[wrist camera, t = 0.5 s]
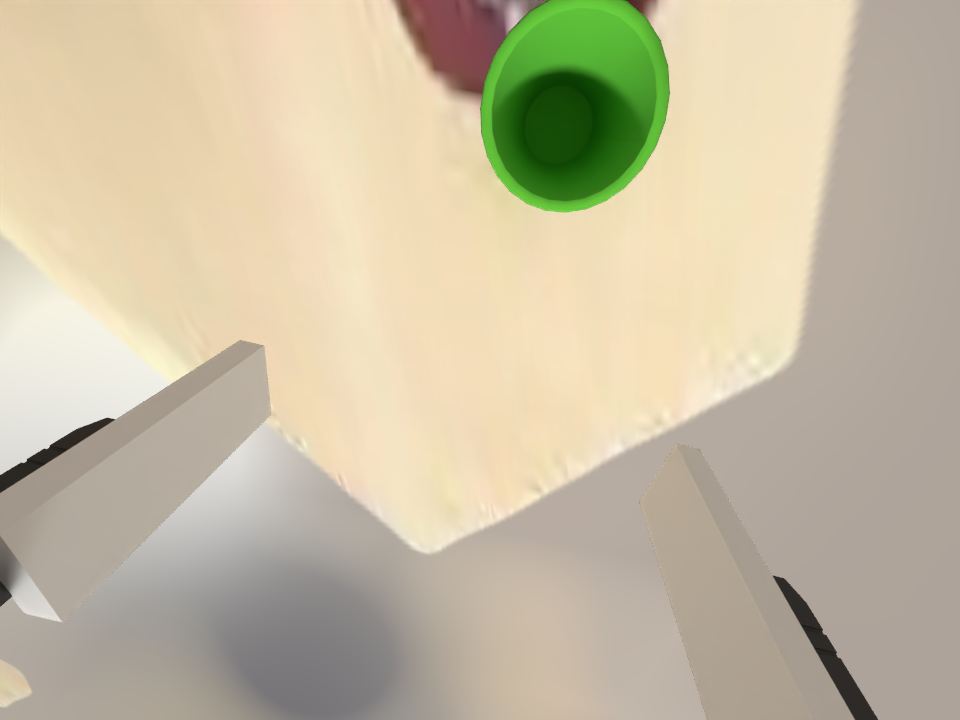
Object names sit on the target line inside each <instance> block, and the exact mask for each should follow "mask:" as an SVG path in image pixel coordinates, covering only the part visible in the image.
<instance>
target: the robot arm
mask: <svg viewBox="0 0 960 720" xmlns="http://www.w3.org/2000/svg"><path fill="white" fill-rule="evenodd" d="M270 415H271V407H270V397H269V387H268V378H267V368H266V359H265V349H264V346H263V345H259V344H255V343H251V342H246V341H242V340H240V341H238V342H237V343H235V344H233V345H232V346H230V347H229V348H227V349H226V350H224V351H222V352H221V353H219V354H218V355H216V356H215V357H213V358H211V359H210V360H208V361H207V362H205V363H204V364H202V365H200V366H199V367H197V368H196V369H194V370H193V371H191V372H190V373H188V374H186V375H185V376H183V377H182V378H180V379H179V380H177V381H175V382H174V383H172V384H171V385H169V386H168V387H166V388H165V389H163V390H161V391H160V392H158V393H157V394H155V395H154V396H152V397H150V398H149V399H147V400H146V401H144V402H143V403H141V404H139V405H138V406H136V407H135V408H133V409H132V410H130V411H128V412H127V413H125V414H124V415H122V416H121V417H119V418H117V419H116V420H115V419H110V418H105V419H102V420H100V421H97V422H94V423H92V424H89V425H86V426H84V427H81V428H78V429H76V430H74V431H73V432H71V433H69V434H68V435H66V436H64V437H63V438H61V439H59V440H58V441H56V442H55V443H53V444H51V445H50V447H49V448H48V449H43V450H41V451H40V452H38V453H36V454H35V455H33V456H31V457H30V458H28V459H27V462H25V463H20V464H18V465H17V466H15V467H13V468H11V469H10V470H8V471H6V472H5V473H3V474H2V475H0V606H2V605H3V604H4V603H5V602H6V601H7V600H8V599H10V598H11V597H12V598H13V599H14V601H15V602H16V603H17V604H18V606H19V607H20V608H21V609H22V611H23V612H24V613H25V614H29V615H34V616H38V617H42V618H46V619H50V620H54V621H59V622H62V623H63V622H64V621H65V619H67V618H68V617H69V616H70V615H71V614H72V613H73V612H74V611H75V610H76V609H77V608H78V607H79V606H80V605H81V604H82V603H83V602H84V601H85V600H86V599H87V598H88V597H89V596H90V595H91V594H92V593H93V592H94V591H95V590H96V589H97V588H98V587H99V586H100V585H101V584H102V583H103V582H104V581H105V580H106V579H107V578H108V577H109V576H110V575H111V574H112V573H113V572H114V571H115V570H116V569H117V568H118V567H119V566H120V565H121V564H122V563H123V562H124V561H125V560H126V559H127V558H128V557H129V556H130V555H131V554H132V553H133V552H134V551H135V550H136V549H137V548H138V547H139V546H140V545H141V544H142V543H143V542H144V541H145V540H146V539H147V538H148V537H149V536H150V535H151V534H152V533H153V532H154V531H155V530H156V529H157V528H158V527H159V526H160V525H161V524H162V523H163V522H164V521H165V520H166V519H167V518H168V517H169V516H170V515H171V514H172V513H173V512H174V511H175V510H176V509H177V508H178V507H179V506H180V505H181V504H182V503H183V502H184V501H185V500H186V499H187V498H188V497H189V496H190V495H191V494H192V493H193V492H194V491H195V490H196V489H197V488H198V487H199V486H200V485H201V484H202V483H203V482H204V481H205V480H206V479H207V478H208V477H209V476H210V475H211V474H212V473H213V472H214V471H215V470H216V469H217V468H218V467H219V466H220V465H221V464H222V463H223V462H224V461H225V460H226V459H227V458H228V457H229V456H230V455H231V454H232V453H233V452H234V451H235V450H236V449H237V448H238V447H239V446H240V445H241V444H242V443H243V442H244V441H245V440H246V439H247V438H248V437H249V436H250V435H251V434H252V433H253V432H254V431H255V430H256V429H257V428H258V427H259V426H260V425H261V424H262V423H263V422H264V421H265V420H266V419H267V418H268V417H269V416H270ZM639 503H640V506H641V509H642V512H643V516H644V518H645V522H646V525H647V529H648V532H649V535H650V538H651V541H652V544H653V548H654V551H655V554H656V557H657V561H658V564H659V567H660V570H661V574H662V577H663V580H664V583H665V586H666V590H667V593H668V596H669V599H670V602H671V606H672V609H673V612H674V615H675V618H676V622H677V625H678V628H679V631H680V635H681V638H682V641H683V644H684V647H685V651H686V654H687V657H688V660H689V663H690V667H691V670H692V673H693V676H694V680H695V683H696V686H697V689H698V692H699V695H700V698H701V702H702V705H703V709H704V712H705V715H706V718H707V720H878V719H877V717H876V715H875V714H874V712H873V711H872V709H871V707H870V706H869V704H868V702H867V701H866V699H865V697H864V696H863V694H862V693H861V691H860V689H859V688H858V686H857V684H856V683H855V681H854V680H853V678H852V676H851V675H850V673H849V671H848V670H847V668H846V667H845V665H844V664H843V662H842V660H841V659H840V658H838V657H837V655H836V653H837V652H836V650H835V649H834V647H833V645H832V644H831V642H830V640H829V639H828V637H827V636H826V635H824V634H823V632H822V631H823V629H822V628H821V626H820V624H819V623H818V621H817V619H816V618H815V616H814V614H813V613H812V611H811V610H810V608H809V607H808V605H807V603H806V602H805V601H804V600H803V599H802V598H801V596H800V595H799V594H798V593H797V592H796V591H795V590H794V589H793V588H792V586H791V585H790V584H789V583H788V582H787V581H786V580H785V579H784V578H780V577H776V576H772V574H771V572H770V571H769V569H768V567H767V565H766V564H765V562H764V560H763V559H762V557H761V555H760V553H759V552H758V550H757V548H756V546H755V544H754V543H753V541H752V539H751V537H750V536H749V534H748V532H747V530H746V529H745V527H744V525H743V524H742V522H741V520H740V518H739V517H738V515H737V513H736V511H735V510H734V508H733V506H732V504H731V503H730V501H729V499H728V497H727V496H726V494H725V492H724V490H723V489H722V487H721V485H720V483H719V482H718V480H717V478H716V476H715V475H714V473H713V471H712V469H711V468H710V466H709V464H708V462H707V461H706V459H705V457H704V456H703V454H702V452H701V450H700V449H697V448H693V447H689V446H685V445H681V444H675V445H674V447H673V448H672V450H671V452H670V453H669V455H668V456H667V458H666V460H665V461H664V463H663V465H662V466H661V468H660V469H659V471H658V473H657V474H656V476H655V477H654V479H653V481H652V482H651V484H650V485H649V487H648V489H647V490H646V492H645V494H644V495H643V497H642V498H641V500H640V502H639Z"/></svg>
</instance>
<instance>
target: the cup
mask: <svg viewBox="0 0 960 720" xmlns="http://www.w3.org/2000/svg"><path fill="white" fill-rule="evenodd" d="M669 95H670V90H669V72H668V64H667V61H666V57H665V54H664V51H663V47H662V44H661V40H660V39H659V37H658V36H657V34H656V32H655V31H654V29H653V28H652V26H651V24H650V23H649V21H648V19H647V18H646V17H645V16H644V15H643V14H641V13H640V12H639V11H638V10H637V9H636V8H634V7H633V6H632V5H631V4H630V3H629V2H628V1H625V0H548V1H546V2H544V3H543V4H541V5H539V6H538V7H536V8H534V9H533V10H531V11H529V12H528V13H527V14H526V15H525V16H524V17H523V18H522V19H521V20H520V21H519V22H518V23H517V24H516V25H515V26H514V27H513V28H512V29H511V30H510V31H509V33H508V35H507V36H506V38H505V39H504V41H503V42H502V44H501V46H500V47H499V49H498V50H497V52H496V54H495V55H494V58H493V60H492V63H491V66H490V68H489V71H488V74H487V76H486V79H485V82H484V89H483V95H482V101H481V107H480V110H481V134H482V138H483V141H484V145H485V149H486V153H487V157H488V159H489V161H490V163H491V165H492V167H493V169H494V171H495V173H496V175H497V176H498V178H499V179H500V180H501V181H502V182H503V184H504V185H505V186H506V187H507V188H508V189H509V191H510V192H511V193H513V194H514V195H516V196H517V197H518V198H520V199H521V200H523V201H524V202H525V203H527V204H529V205H532V206H535V207H537V208H540V209H543V210H545V211H555V212H572V211H578V210H584V209H588V208H590V207H592V206H595V205H597V204H600V203H602V202H604V201H607V200H608V199H609V198H611V197H612V196H614V195H615V194H616V193H618V192H619V191H621V190H622V189H624V188H625V187H626V186H627V185H628V184H629V183H630V182H631V181H632V179H633V178H634V177H635V176H636V175H637V174H638V173H639V172H640V171H641V170H642V169H643V167H644V165H645V164H646V162H647V160H648V159H649V157H650V156H651V154H652V152H653V151H654V149H655V147H656V145H657V142H658V140H659V137H660V134H661V132H662V129H663V126H664V124H665V120H666V114H667V108H668V102H669Z"/></svg>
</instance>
